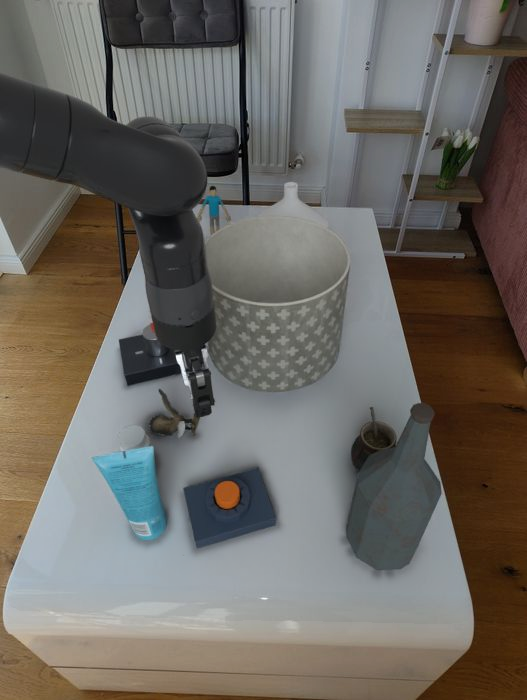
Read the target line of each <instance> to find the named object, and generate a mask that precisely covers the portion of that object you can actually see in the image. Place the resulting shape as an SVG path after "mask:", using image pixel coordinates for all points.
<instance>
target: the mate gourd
mask: <svg viewBox="0 0 527 700" xmlns="http://www.w3.org/2000/svg"><path fill="white" fill-rule="evenodd" d="M369 410H370V416H371V421H369V422H367V423H364V424H363V425H362V426H361V428H360V431H359V435H358V436H357V437H355V439H354V441H353V442H352V444H351V448H350V456H351V462H352V466H353V467H354V468H355V470H356V471H358V472H359V471H360V469H361V468H362V466H363V465H364V463H365V461H366V460H367V458H368V457H369V455H371V454H373V453H375V452H377V451H379V450H384V449H389V448H394V447H395V446H396V444H397V441H398V438H397V437H398V436H397V433H396V431H395V430H394V428H393V427H391V426H390V425H389V424H387V423H386V422H382V421H377V420H376V413H375V408H374V406H370V407H369Z"/></svg>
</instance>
